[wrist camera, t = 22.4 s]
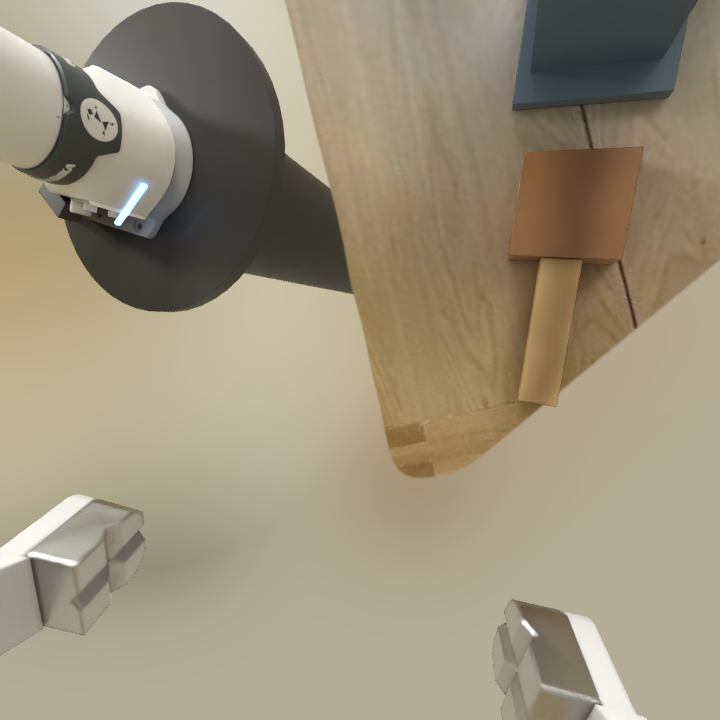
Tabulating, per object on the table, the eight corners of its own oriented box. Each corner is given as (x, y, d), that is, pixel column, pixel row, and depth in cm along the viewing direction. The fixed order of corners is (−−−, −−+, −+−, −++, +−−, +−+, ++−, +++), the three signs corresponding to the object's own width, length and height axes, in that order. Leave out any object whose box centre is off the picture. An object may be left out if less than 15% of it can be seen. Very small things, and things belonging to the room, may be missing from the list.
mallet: (488, 391, 35) (487, 396, 32) (522, 164, 32) (524, 151, 30) (586, 407, 32) (592, 414, 30) (632, 160, 29) (643, 146, 27)
